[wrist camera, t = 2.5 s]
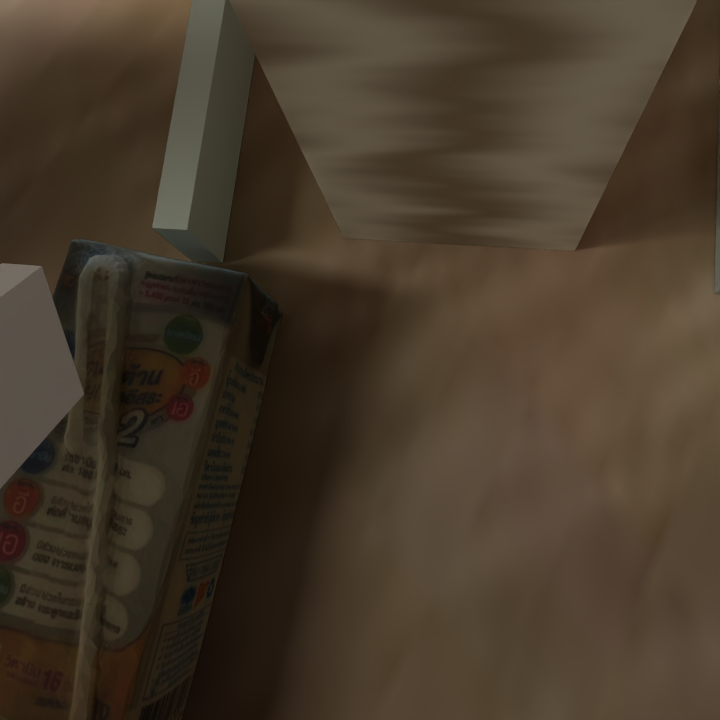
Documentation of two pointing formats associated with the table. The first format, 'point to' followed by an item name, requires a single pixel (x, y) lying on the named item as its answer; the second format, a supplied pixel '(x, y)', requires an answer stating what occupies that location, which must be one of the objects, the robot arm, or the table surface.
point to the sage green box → (223, 136)
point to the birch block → (463, 108)
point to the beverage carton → (130, 487)
